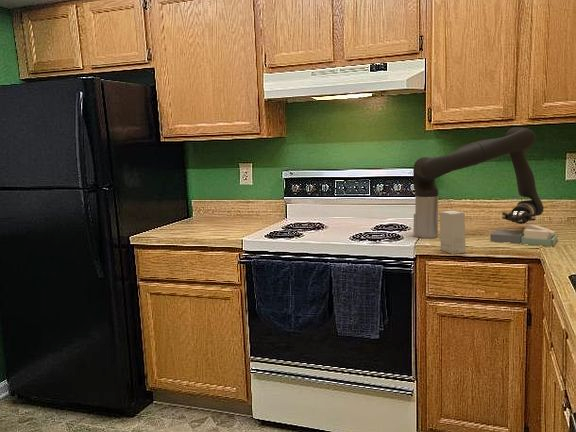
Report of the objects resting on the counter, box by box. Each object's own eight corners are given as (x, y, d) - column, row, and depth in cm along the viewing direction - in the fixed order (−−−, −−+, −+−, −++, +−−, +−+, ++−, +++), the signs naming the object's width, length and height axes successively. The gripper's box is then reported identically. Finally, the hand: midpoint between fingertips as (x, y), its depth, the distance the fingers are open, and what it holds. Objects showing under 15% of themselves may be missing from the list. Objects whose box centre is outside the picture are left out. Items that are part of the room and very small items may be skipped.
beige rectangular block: (526, 224, 204) (552, 233, 198) (529, 222, 207) (555, 231, 201) (522, 233, 205) (549, 242, 199) (525, 231, 208) (551, 241, 202)
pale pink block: (524, 230, 199) (547, 232, 194) (526, 228, 202) (549, 230, 198) (523, 243, 200) (547, 245, 195) (525, 241, 203) (548, 243, 198)
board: (490, 241, 207) (490, 234, 206) (496, 236, 216) (496, 229, 215) (520, 243, 201) (520, 236, 200) (525, 238, 210) (525, 231, 209)
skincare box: (465, 253, 189) (466, 212, 186) (450, 254, 187) (451, 213, 185) (453, 248, 197) (453, 209, 195) (438, 249, 195) (439, 210, 193)
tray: (520, 244, 200) (520, 238, 199) (526, 238, 210) (527, 232, 210) (552, 247, 194) (552, 240, 193) (557, 240, 204) (557, 234, 204)
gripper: (505, 203, 218) (496, 209, 204) (540, 205, 211) (533, 210, 197) (505, 221, 220) (495, 228, 205) (539, 223, 212) (532, 230, 198)
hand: (514, 219), depth 201 cm, fingers closed
